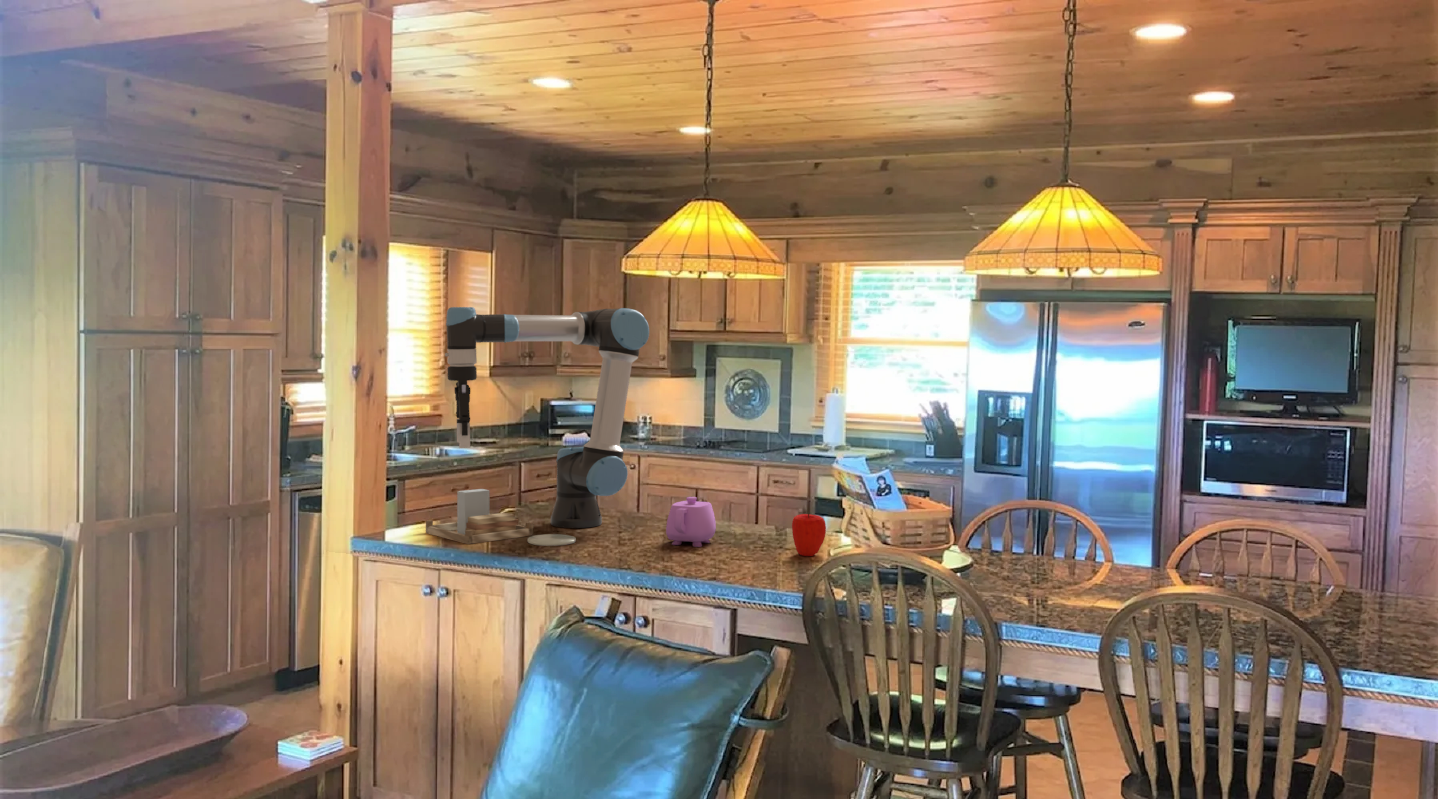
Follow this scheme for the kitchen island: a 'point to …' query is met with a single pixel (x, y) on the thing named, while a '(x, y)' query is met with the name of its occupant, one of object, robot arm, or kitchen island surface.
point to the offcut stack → (491, 523)
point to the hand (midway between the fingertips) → (463, 445)
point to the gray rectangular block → (471, 506)
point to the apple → (808, 533)
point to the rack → (468, 538)
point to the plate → (551, 540)
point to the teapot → (691, 522)
